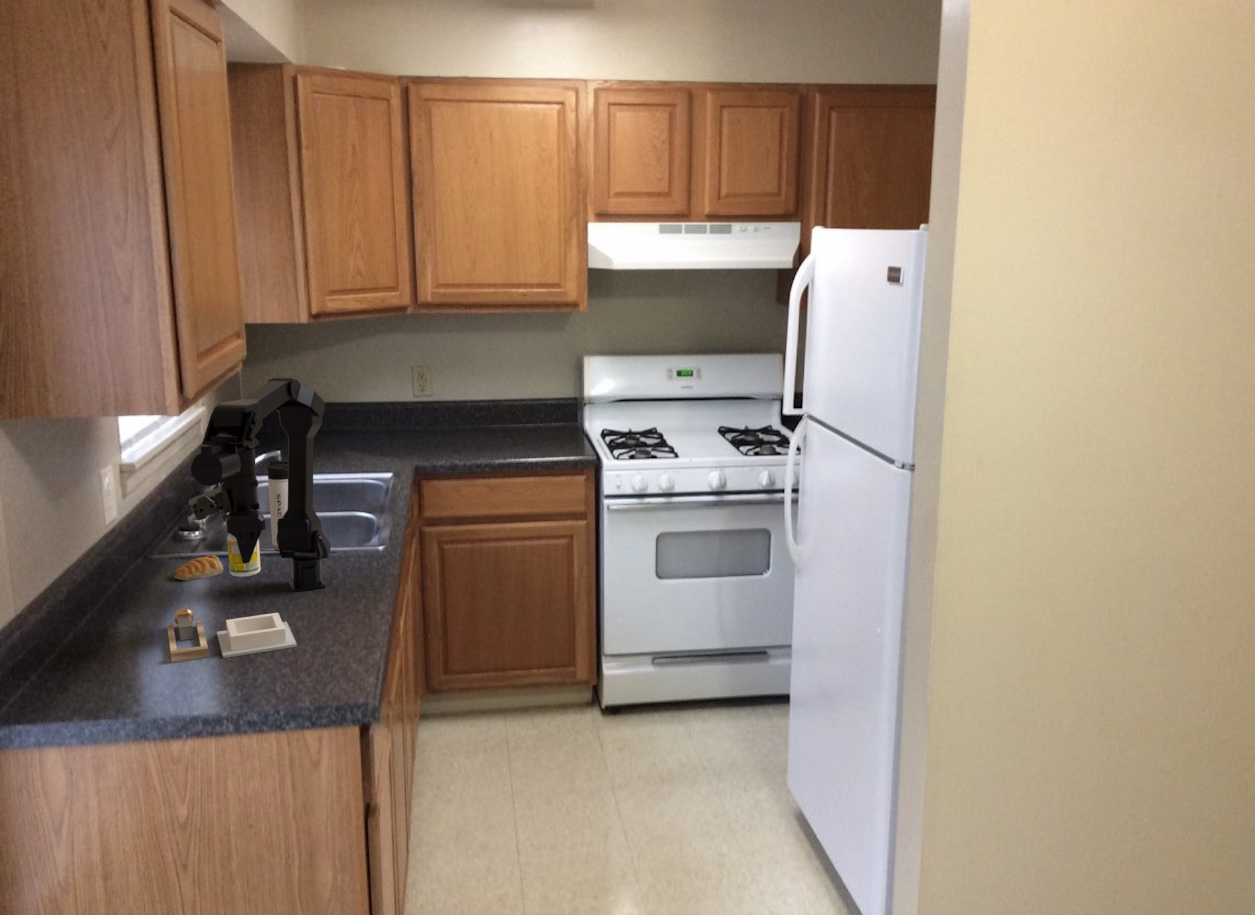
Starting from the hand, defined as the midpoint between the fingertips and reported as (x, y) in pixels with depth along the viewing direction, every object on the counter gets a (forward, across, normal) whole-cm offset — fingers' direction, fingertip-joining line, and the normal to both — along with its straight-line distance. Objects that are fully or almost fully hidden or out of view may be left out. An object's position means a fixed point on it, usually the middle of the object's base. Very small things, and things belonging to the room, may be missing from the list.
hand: (244, 558), depth 185 cm
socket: (+13, +7, +1) cm, 15 cm away
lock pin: (+13, -1, -11) cm, 17 cm away
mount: (+13, +4, -11) cm, 17 cm away
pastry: (+13, -36, -6) cm, 39 cm away
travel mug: (+12, -50, +12) cm, 53 cm away
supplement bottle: (+3, 0, 0) cm, 3 cm away
